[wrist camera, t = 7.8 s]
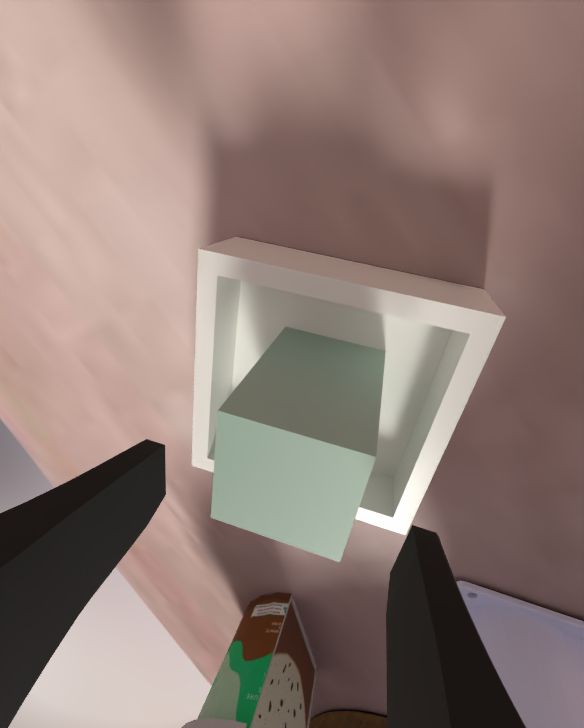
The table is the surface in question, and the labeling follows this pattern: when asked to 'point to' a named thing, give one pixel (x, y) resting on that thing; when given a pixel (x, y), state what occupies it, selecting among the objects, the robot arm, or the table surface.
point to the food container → (264, 671)
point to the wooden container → (348, 720)
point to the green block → (300, 442)
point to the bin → (355, 325)
